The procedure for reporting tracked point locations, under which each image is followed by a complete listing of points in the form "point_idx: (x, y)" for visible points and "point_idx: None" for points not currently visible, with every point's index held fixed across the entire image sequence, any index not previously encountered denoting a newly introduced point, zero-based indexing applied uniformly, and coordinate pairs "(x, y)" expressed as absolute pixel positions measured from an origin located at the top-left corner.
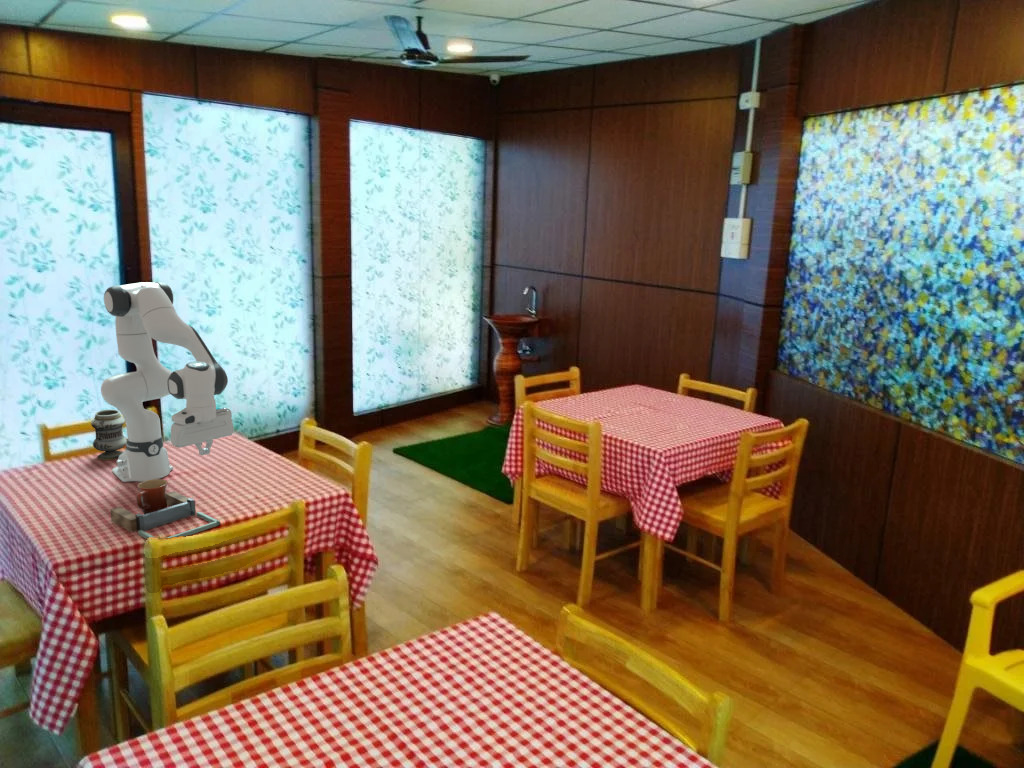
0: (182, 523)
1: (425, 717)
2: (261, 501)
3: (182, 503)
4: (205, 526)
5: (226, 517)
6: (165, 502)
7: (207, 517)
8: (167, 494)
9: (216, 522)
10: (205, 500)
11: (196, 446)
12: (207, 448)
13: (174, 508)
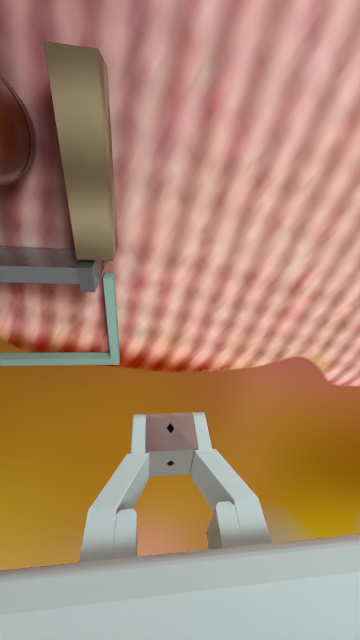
0: (48, 289)
1: None
2: (277, 315)
3: (55, 271)
4: (79, 364)
5: (155, 335)
6: (9, 178)
7: (108, 329)
8: (49, 72)
9: (109, 364)
10: (200, 172)
11: (102, 496)
12: (191, 470)
13: (18, 280)
